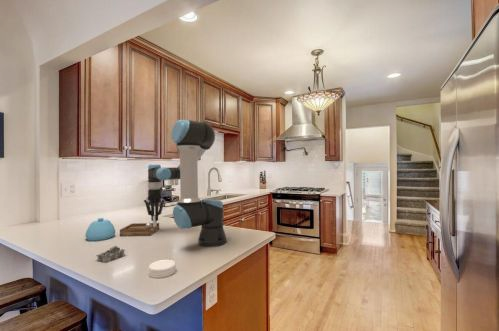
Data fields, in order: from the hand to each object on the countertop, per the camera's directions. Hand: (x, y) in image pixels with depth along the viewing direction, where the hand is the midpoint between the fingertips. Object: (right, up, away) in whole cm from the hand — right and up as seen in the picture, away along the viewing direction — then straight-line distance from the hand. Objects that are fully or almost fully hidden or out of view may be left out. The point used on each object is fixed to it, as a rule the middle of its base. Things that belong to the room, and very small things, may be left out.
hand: (154, 225), depth 155 cm
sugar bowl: (-28, -5, -11) cm, 30 cm away
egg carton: (-3, -4, -43) cm, 44 cm away
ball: (-4, -2, 0) cm, 4 cm away
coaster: (+26, -4, -59) cm, 65 cm away
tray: (-9, -4, 0) cm, 10 cm away
